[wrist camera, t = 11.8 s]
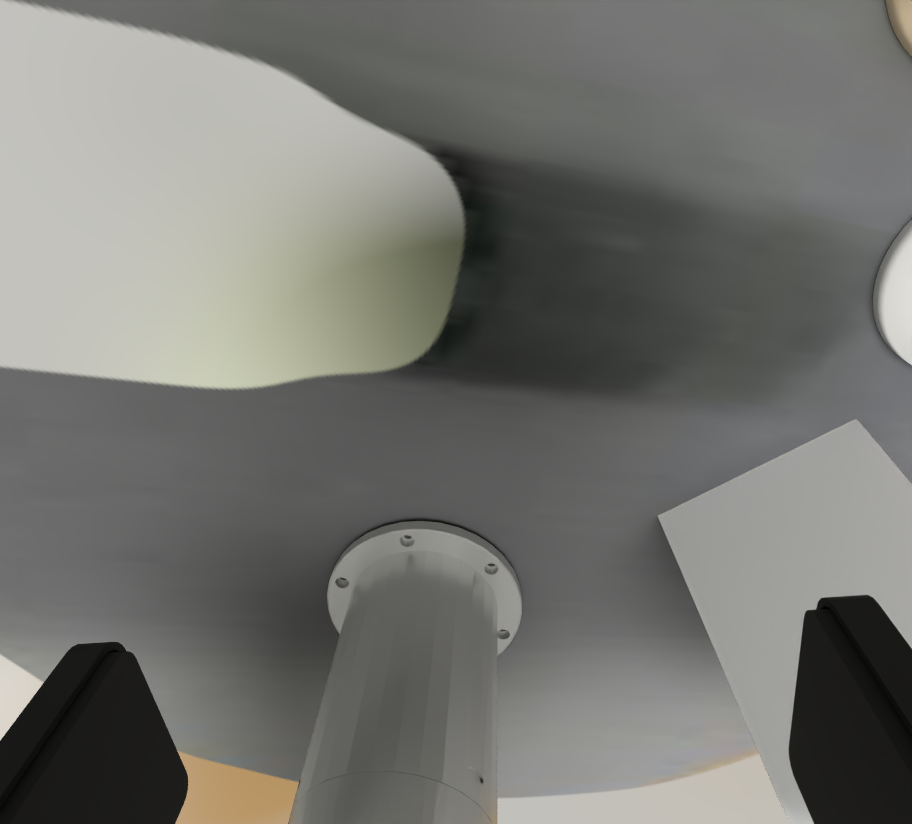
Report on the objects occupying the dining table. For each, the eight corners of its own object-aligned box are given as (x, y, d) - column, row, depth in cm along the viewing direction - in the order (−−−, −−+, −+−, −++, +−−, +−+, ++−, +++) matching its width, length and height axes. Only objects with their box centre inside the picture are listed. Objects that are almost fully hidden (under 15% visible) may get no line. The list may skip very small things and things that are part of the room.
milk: (739, 635, 45) (993, 1243, 22) (657, 515, 41) (862, 1105, 18) (926, 558, 41) (1469, 1191, 18) (856, 418, 37) (1438, 1004, 14)
